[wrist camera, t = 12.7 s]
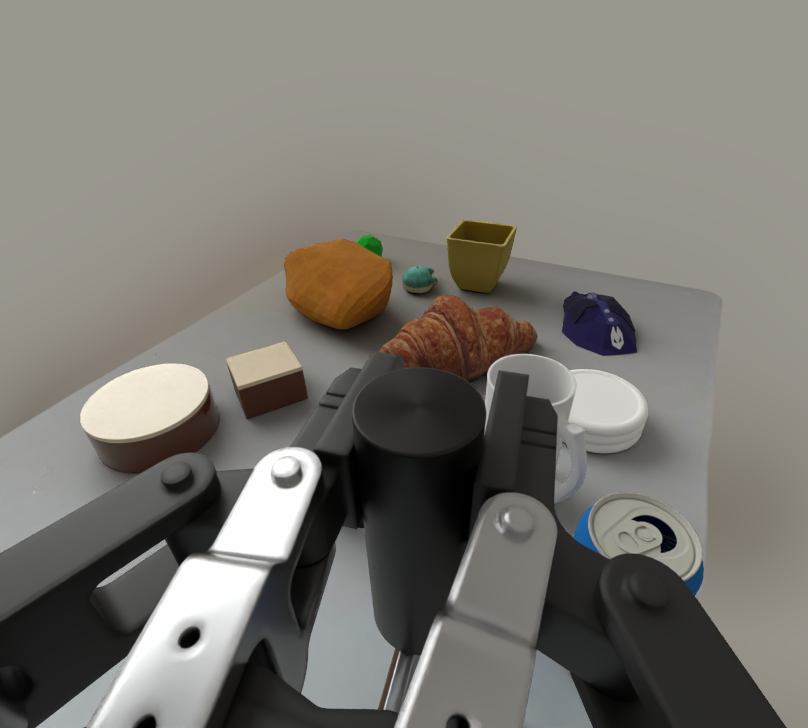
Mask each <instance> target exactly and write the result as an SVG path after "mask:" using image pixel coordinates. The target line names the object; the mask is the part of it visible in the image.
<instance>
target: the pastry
mask: <svg viewBox="0 0 808 728" xmlns="http://www.w3.org/2000/svg"><path fill="white" fill-rule="evenodd" d="M536 339H537V333H536V331H535V330H534V328H533V326H532V325H531V324H530V323H529V322H526V321H516V320H515V319H514V318H512V317H510V315H509V314H506V313H505V312H504V311H503V310H502V309H500V308H498V307H493V308H490V307H488V308H484V309H478V310H476V311H473V309H472V308H471V307H468V306H467V304H466V303H465V302H464V301H463V300H462V299H460V298H459V297H456V296H449V295H443V296H439V297H438V298H436V299H435V300H434V301H433V303H432V304H431V306H430V307H429V309H428V310H426V311H425V313H424V315H423V317H422V318H421V319H418V318H417V319H413V320H411V321H409V322H408V323H406V324H405V325H404V326H403V327H402V328H401V329H400V331H399V332H398V334H397V336H396V337H395V338H393V339H392V340H390V341H389V342H388V343H385V344H384V345H383V346H382V347H381V349H380V351H379V352H382V353H388V354H395V355H402V356H403V359H404V369H405V368H418V367H419V368H433V369H438V370H443V371H446V372H450V373H452V374H455V375H457V376H459V377H461V378H463V379H464V380H466V381H468V382H470V381H471V380H475V379H477V378H479V377H480V376H482V375H485V374H487V373H488V370H489V368H490V366H491V365H492V364H493V363H494V362H495V361H497V360H498V359H500V358H502V357H505V356H509V355H514V354H525V353H526V352H527V351H528V350H529V349H531V347H532V346H533V345H534V343H535V342H536Z"/></svg>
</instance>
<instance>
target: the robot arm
mask: <svg viewBox="0 0 808 728" xmlns="http://www.w3.org/2000/svg"><path fill="white" fill-rule="evenodd" d="M399 369H404V359H403V356H402V355H395V354H388V353H382V352H375V351H374V352H372V354H371V355H370V357H369V358H368V360H367V362H366V363H365V365H364V367H363V368H362V369H357V368H350V369H348V370H347V371H345V372H344V373H343V374H341V375H340V376H338V377H337V378H335V380H334V381H333V383H332V384H331V386H330V387H329V389H328V390H327V392H326V395H324V396H323V398H322V399H321V401H320V402H319V406H317V407H316V408H315V410H314V411H313V413H312V414H311V416H310V417H309V419H308V421H307V422H306V424H305V425H304V427H303V428H302V430H301V431H300V433H299V434H298V436H297V437H296V439H295V440H294V442H293V443H292V445H291V446H290V447H289V448H283V449H280V450H277V451H274V452H272V453H270V454H269V455H267V456H265V457H264V458H263V459H262V460H261V461H260V462H259V463H258V464H257V466H256V467H255V468H254V469H245V470H229V471H216V470H215V467H214V465H213V462H212V461H211V460H210V458H208V457H207V456H205V455H203V454H199V453H183V454H178V455H174V456H172V457H169V458H167V459H165V460H163V461H161V462H160V463H158V464H156V465H154V466H153V467H151V468H149V469H147V470H146V471H144V472H142V473H140V474H139V475H137V476H135V477H133V478H132V479H130V480H128V481H126V482H125V483H123V484H121V485H119V486H118V487H116V488H114V489H112V490H111V491H109V492H107V493H105V494H104V495H102V496H100V497H98V498H97V499H95V500H93V501H91V502H90V503H88V504H86V505H84V506H83V507H81V508H79V509H77V510H76V511H74V512H72V513H70V514H69V515H67V516H65V517H63V518H62V519H60V520H58V521H56V522H55V523H53V524H51V525H49V526H47V527H46V528H44V529H42V530H40V531H39V532H37V533H35V534H33V535H32V536H30V537H28V538H26V539H25V540H23V541H21V542H19V543H18V544H16V545H14V546H12V547H11V548H9V549H7V550H5V551H4V552H2V553H0V728H36V727H37V726H38V725H39V724H41V723H42V722H43V721H44V720H46V719H47V718H48V717H50V716H51V715H52V714H53V713H55V712H56V711H57V710H59V709H60V708H61V707H62V706H64V705H65V704H66V703H67V702H69V701H70V700H71V699H73V698H74V697H75V696H76V695H78V694H79V693H80V692H82V691H83V690H84V689H85V688H87V687H88V686H89V685H90V684H92V683H93V682H94V681H96V680H97V679H98V678H99V677H101V676H102V675H103V674H105V673H106V672H107V671H108V670H110V669H111V668H112V667H113V666H115V665H116V664H117V663H119V662H120V661H121V660H122V659H124V658H125V657H126V656H127V658H126V659H125V661H124V663H123V665H122V666H121V668H120V670H119V671H118V673H117V675H116V677H115V678H114V680H113V682H112V683H111V685H110V687H109V689H108V690H107V692H106V694H105V695H104V697H103V699H102V701H101V702H100V704H99V706H98V707H97V709H96V711H95V713H94V714H93V716H92V718H91V719H90V721H89V723H88V725H87V726H86V727H84V728H523V723H524V718H525V712H526V707H527V702H528V696H529V691H530V686H531V681H532V675H533V670H534V664H535V658H536V651H537V650H539V651H540V652H542V653H543V654H545V655H546V656H548V657H549V658H551V659H552V660H554V661H555V662H557V663H558V664H560V665H561V666H563V667H564V668H566V669H567V670H569V671H570V673H571V676H572V679H573V681H574V683H575V686H576V688H577V690H578V693H579V695H580V698H581V700H582V702H583V705H584V707H585V709H586V712H587V714H588V717H589V719H590V721H591V724H592V726H593V728H786V726H785V725H784V723H783V722H782V721H781V719H780V718H779V716H778V715H777V713H776V712H775V711H774V709H773V708H772V706H771V705H770V704H769V702H768V700H767V699H766V698H765V696H764V695H763V693H762V692H761V690H760V689H759V688H758V686H757V685H756V683H755V682H754V680H753V679H752V678H751V676H750V675H749V673H748V672H747V670H746V669H745V668H744V666H743V665H742V663H741V662H740V661H739V659H738V657H737V656H736V655H735V653H734V652H733V650H732V649H731V648H730V646H729V645H728V643H727V642H726V640H725V639H724V637H723V636H722V635H721V633H720V632H719V630H718V629H717V627H716V626H715V625H714V623H713V622H712V621H711V619H710V617H709V616H708V615H707V613H706V612H705V610H704V609H703V607H702V606H701V604H700V603H699V602H698V600H697V599H696V597H695V596H694V594H693V593H692V592H691V590H690V589H689V587H688V586H687V584H686V583H685V582H684V581H683V579H682V578H681V577H680V576H679V575H678V574H677V573H676V572H675V571H673V570H672V569H671V568H670V567H668V566H667V565H665V564H663V563H662V562H660V561H658V560H656V559H654V558H651V557H648V556H646V555H641V554H634V553H627V554H621V555H617V556H615V557H613V558H611V559H608V558H606V557H605V556H603V555H601V554H599V553H597V552H595V551H593V550H591V549H589V548H587V547H586V546H584V545H582V544H581V543H579V542H578V541H576V540H575V539H574V538H572V537H571V536H570V535H569V534H568V533H567V532H566V530H565V529H564V528H563V527H562V525H561V524H560V522H559V520H558V518H557V516H556V513H555V509H554V493H555V470H556V447H557V424H558V415H557V413H556V411H555V409H554V408H553V406H552V404H551V402H550V400H549V399H543V398H537V397H531V396H527V389H528V381H529V375H528V374H521V373H515V372H508V371H501V370H499V371H498V375H497V380H496V384H495V389H494V393H493V398H492V403H491V407H490V412H489V416H488V421H487V426H486V430H485V435H484V442H483V451H482V456H481V459H480V461H479V463H478V467H477V472H476V476H475V481H474V488H473V498H472V508H471V518H470V529H469V539H468V544H467V547H466V550H465V553H464V556H463V558H462V561H461V564H460V567H459V569H458V572H457V575H456V578H455V581H454V583H453V586H452V589H451V592H450V595H449V597H448V600H447V602H446V604H445V606H444V608H441V609H440V610H439V612H438V613H437V615H436V617H435V619H434V622H433V624H432V627H431V629H430V632H429V635H428V637H427V640H426V643H425V645H424V648H423V651H422V654H421V656H420V659H419V662H418V664H417V667H416V670H415V673H414V675H413V678H412V681H411V683H410V686H409V689H408V691H407V694H406V697H405V700H404V702H403V705H402V708H401V710H400V713H397V712H394V711H391V710H374V709H326V708H321V707H318V706H316V705H315V704H313V703H312V702H311V701H310V700H308V699H307V698H306V697H304V696H303V695H302V694H301V692H302V688H303V684H304V680H305V675H306V670H307V663H308V647H309V640H310V636H311V632H312V629H313V625H314V622H315V619H316V616H317V612H318V609H319V606H320V602H321V599H322V596H323V593H324V589H325V586H326V583H327V579H328V576H329V573H330V570H331V566H332V563H333V560H334V557H335V552H336V544H335V541H336V539H337V536H338V534H339V532H340V530H341V528H342V526H346V527H350V528H354V529H357V528H358V525H359V523H360V521H361V518H362V516H363V513H362V504H361V496H360V487H359V478H358V469H357V461H356V452H355V443H354V435H353V426H352V417H351V410H352V405H353V402H354V400H355V398H356V396H357V394H358V393H359V391H360V390H361V389H362V388H363V387H364V386H365V385H366V384H367V383H369V382H370V381H372V380H373V379H375V378H377V377H379V376H380V375H383V374H385V373H388V372H391V371H395V370H399ZM164 539H165V541H166V543H167V545H165V546H164V547H162V548H161V549H159V550H158V551H157V552H155V553H154V554H152V555H151V556H149V557H148V558H146V559H145V560H143V561H142V562H140V563H139V564H137V565H136V566H134V567H133V568H132V569H130V570H129V571H127V572H126V573H124V574H123V575H121V576H120V577H118V578H117V579H115V580H114V581H112V582H111V583H109V584H107V585H105V586H102V587H97V585H98V584H99V583H101V582H102V581H103V580H104V579H106V578H107V577H109V576H110V575H112V574H113V573H115V572H116V571H118V570H119V569H121V568H122V567H124V566H125V565H127V564H128V563H130V562H131V561H133V560H134V559H136V558H137V557H139V556H140V555H142V554H143V553H145V552H146V551H147V550H149V549H150V548H152V547H153V546H155V545H156V544H158V543H159V542H161V541H162V540H164ZM96 587H97V588H96Z"/></svg>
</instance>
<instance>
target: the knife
mask: <svg viewBox="0 0 808 728" xmlns="http://www.w3.org/2000/svg"><path fill="white" fill-rule="evenodd" d="M351 417H352V426H353V435H354V443H355V452H356V461H357V469H358V478H359V487H360V496H361V504H362V513H363V522H364V530H365V539H366V548H367V557H368V565H369V574H370V583H371V592H372V600H373V609H374V617H375V621H376V624H377V627H378V629H379V631H380V633H381V634H382V636H383V637H384V638H385V640H386V641H387V642H388V643H389V644H391V645H392V646H393V647H395V648H396V649H398V650H400V651H399V655H398V658H397V662H396V665H395V669H394V673H393V676H392V680H391V684H390V687H389V691H388V694H387V698H386V702H385V705H384V709H383V710H391V711H394V712H397V713H400V710H401V708H402V705H403V702H404V700H405V697H406V694H407V691H408V689H409V686H410V683H411V681H412V678H413V675H414V673H415V670H416V667H417V664H418V662H419V659H420V656H421V654H422V651H423V648H424V645H425V643H426V640H427V637H428V635H429V632H430V629H431V627H432V624H433V622H434V619H435V617H436V615H437V613H438V612H439V610H440V609H441V608H444V606H445V604H446V602H447V600H448V597H449V595H450V592H451V589H452V586H453V583H454V581H455V578H456V575H457V572H458V569H459V567H460V564H461V561H462V558H463V556H464V553H465V550H466V547H467V544H468V539H469V529H470V518H471V508H472V498H473V488H474V481H475V476H476V472H477V467H478V463H479V461H480V459H481V456H482V451H483V442H484V433H485V423H486V407H485V403H484V401H483V399H482V397H481V395H480V393H479V392H478V391H477V390H476V389H475V387H474V386H473V385H471V384H470V383H469V382H468V381H466V380H464V379H463V378H461V377H459V376H457V375H455V374H452V373H450V372H446V371H443V370H438V369H433V368H419V367H418V368H405V369H399V370H395V371H391V372H388V373H385V374H383V375H380V376H379V377H377V378H375V379H373V380H372V381H370V382H369V383H367V384H366V385H365V386H364V387H363V388H362V389H361V390H360V391H359V393H358V394H357V396H356V398H355V400H354V402H353V405H352V410H351Z"/></svg>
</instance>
